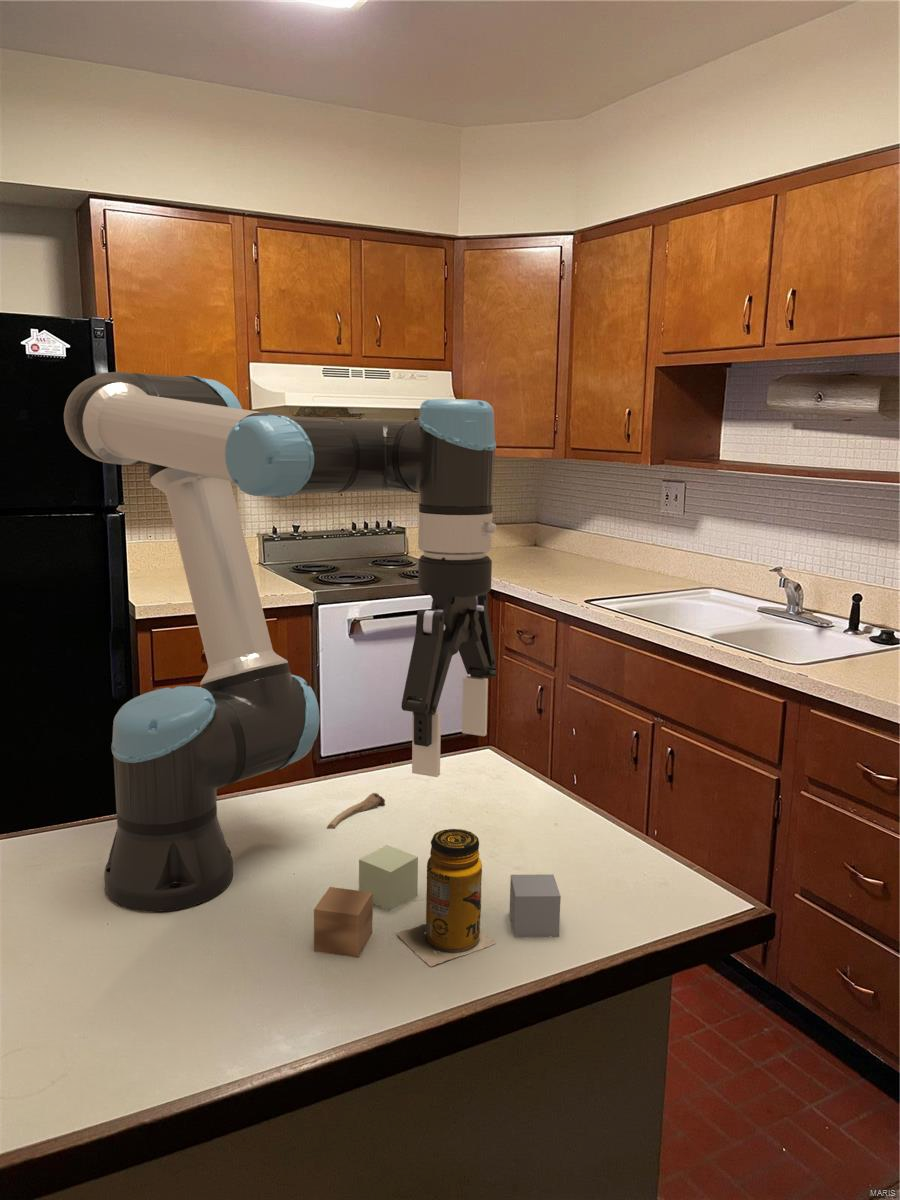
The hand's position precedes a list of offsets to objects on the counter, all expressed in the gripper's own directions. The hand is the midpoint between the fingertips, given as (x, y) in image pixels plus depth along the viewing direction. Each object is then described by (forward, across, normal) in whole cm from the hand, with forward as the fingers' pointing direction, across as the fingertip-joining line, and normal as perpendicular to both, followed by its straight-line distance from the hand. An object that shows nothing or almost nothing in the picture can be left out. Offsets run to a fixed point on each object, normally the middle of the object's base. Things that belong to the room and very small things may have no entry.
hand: (451, 753), depth 96 cm
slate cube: (+22, +7, -8) cm, 24 cm away
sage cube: (+22, +6, +10) cm, 25 cm away
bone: (+22, +25, +25) cm, 42 cm away
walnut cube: (+22, -5, +10) cm, 25 cm away
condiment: (+22, 0, 0) cm, 22 cm away
